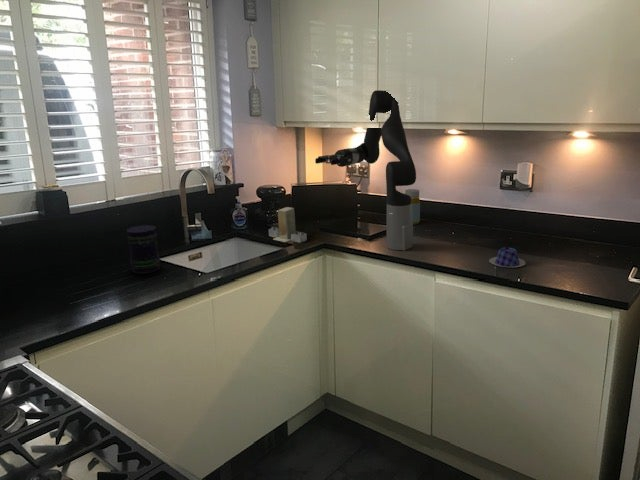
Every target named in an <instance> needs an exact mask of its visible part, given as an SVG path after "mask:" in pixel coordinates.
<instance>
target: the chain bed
mask: <svg viewBox="0 0 640 480" xmlns="http://www.w3.org/2000/svg"><path fill="white" fill-rule="evenodd" d="M268 236H269V237H272V238H277V237H279V227H277V226H271V227H270V228H269V229H268ZM307 236H308V235H307V233H305V232H303V231H298V230H295V231H294V232H293V233H292V234H291V242H295V243H300V244H301V243H304V242H306V241H308V240H307V239H308V238H307Z"/></svg>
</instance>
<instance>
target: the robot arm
mask: <svg viewBox="0 0 640 480" xmlns="http://www.w3.org/2000/svg"><path fill="white" fill-rule="evenodd" d="M386 91H387V90H381V89H380V90H374V91H373V92H372V93H371V95H370V100H369V106H368V107H369V108H368V114H369V115H370V120H371V121H372V120H374V118H375V115H376V116H377V114H387V113H386V112H388V111H390V110H391V114H389V116H388V118H386V120H385V122H384V123H383V125H382V126H381V128H367V127H366V132H365V134H364V139H363V142H362V143H361V144H359V145H358V146H356V147H348V148H343V149H339V150H337V151H336V152H335V153H333V154H326V155H325V154H324V155H321V156H317V157H316V158H315V159H314V160H315V161H314V162H315V164H316V165H317V164H324V163H325V164H330V165H331V166H335V165H337V166H338V167H341V168H342V167H347V166H352V165H355V164H360V163H362V162H366V163H368V164H375V163H376V162H377V161H378V160H379V157H380V153H381V152H380V151H381V150H380V140H381V141H382V144H383V146H384V148H385V149H386V150H387V151H388V152H389V153H390V154H391V155H393V156H394V157H396V158H397V159H398V160H396V161H394V160H392V161H389V162H387V164H386V166H385V183H386V184H385V185H386V249H388V250H392V251H393V250H394V251H406V250H409V249H411V248H413V247H414V243H413V242H414V241H413V240H414V225H413V223H411V197H410V196H409V195H407V194H405V193H403V192H402V191H401V192H400V191H399V190H397V188H396V187H404V186H412V185H414V184H415V183H416V180H417V170H416V166H415V162H414V159H413V158H412V154H411V152H410V149H409V145H408V142H407V137H406V131H405V129H404V125H403V121H402V117H401V113H400V112H401V111H400V106H399V105H398V104H399V101H398V102H397V101H396V100H395V98H393V97H392V96H391V94H389V93H388V92H386Z"/></svg>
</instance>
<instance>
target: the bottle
mask: <svg viewBox="0 0 640 480" xmlns="http://www.w3.org/2000/svg"><path fill="white" fill-rule="evenodd" d="M404 192H405V193H404V194H407V195H409V196H410V197H411V223H413V226H416V225H418V224H420V221H421V219H420V218H421V200H420V189H415V188H413V189H412V188H409V189H405V190H404Z"/></svg>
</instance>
